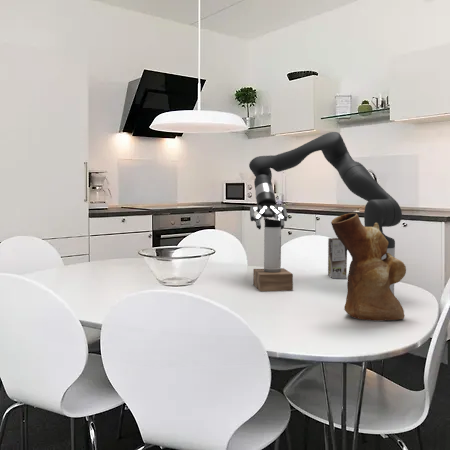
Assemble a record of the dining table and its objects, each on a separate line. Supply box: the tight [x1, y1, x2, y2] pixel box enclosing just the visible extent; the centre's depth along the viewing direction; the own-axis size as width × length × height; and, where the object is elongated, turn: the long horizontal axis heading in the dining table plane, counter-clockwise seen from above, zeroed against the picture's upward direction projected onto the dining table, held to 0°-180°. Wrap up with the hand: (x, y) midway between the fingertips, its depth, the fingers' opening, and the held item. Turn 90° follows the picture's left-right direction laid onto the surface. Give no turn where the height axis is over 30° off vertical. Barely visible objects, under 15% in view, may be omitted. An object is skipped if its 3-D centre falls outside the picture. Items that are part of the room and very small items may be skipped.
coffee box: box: [327, 237, 348, 279], centre depth 217 cm, size 9×6×16 cm
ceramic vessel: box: [330, 212, 407, 322], centre depth 147 cm, size 16×22×30 cm
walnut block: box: [252, 267, 294, 292], centre depth 194 cm, size 14×12×6 cm
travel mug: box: [263, 217, 282, 273], centre depth 193 cm, size 6×7×20 cm
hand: (271, 228), depth 195 cm, fingers open, 8 cm apart
